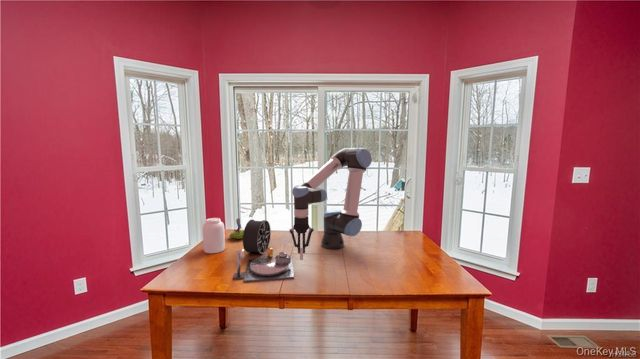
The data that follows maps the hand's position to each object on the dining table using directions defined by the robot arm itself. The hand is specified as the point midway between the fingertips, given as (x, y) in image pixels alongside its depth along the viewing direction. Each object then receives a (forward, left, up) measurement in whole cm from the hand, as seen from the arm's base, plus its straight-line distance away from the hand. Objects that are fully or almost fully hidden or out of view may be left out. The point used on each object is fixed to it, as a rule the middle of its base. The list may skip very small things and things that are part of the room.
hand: (301, 258), depth 144 cm
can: (+52, -32, -5) cm, 61 cm away
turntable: (+17, 0, -3) cm, 17 cm away
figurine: (+40, -52, -5) cm, 66 cm away
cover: (+10, 0, -1) cm, 10 cm away
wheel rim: (+25, -25, -5) cm, 36 cm away
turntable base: (+17, 0, -5) cm, 17 cm away
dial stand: (+32, +6, -5) cm, 33 cm away
